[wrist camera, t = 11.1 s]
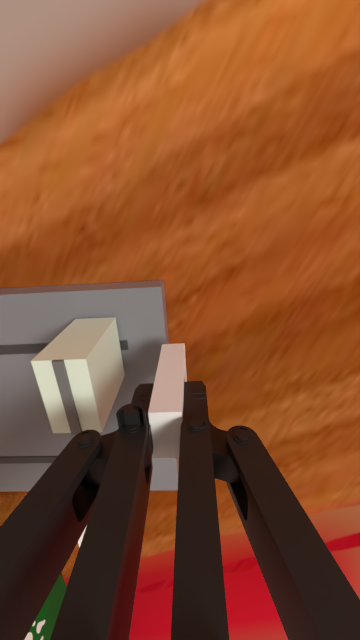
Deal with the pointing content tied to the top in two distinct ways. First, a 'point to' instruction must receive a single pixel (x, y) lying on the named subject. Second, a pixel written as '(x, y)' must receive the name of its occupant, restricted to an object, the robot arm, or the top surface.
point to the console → (43, 327)
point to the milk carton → (48, 613)
